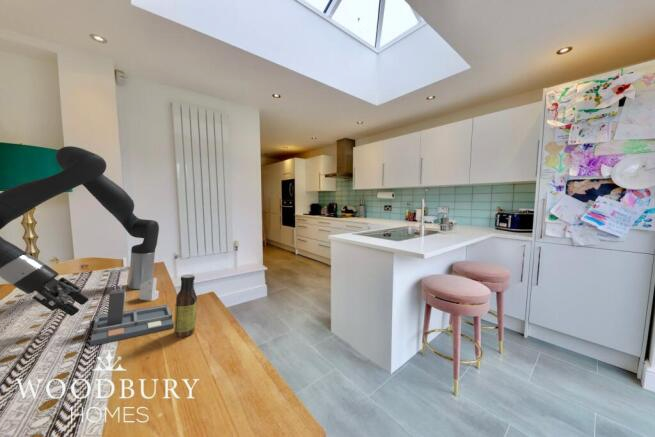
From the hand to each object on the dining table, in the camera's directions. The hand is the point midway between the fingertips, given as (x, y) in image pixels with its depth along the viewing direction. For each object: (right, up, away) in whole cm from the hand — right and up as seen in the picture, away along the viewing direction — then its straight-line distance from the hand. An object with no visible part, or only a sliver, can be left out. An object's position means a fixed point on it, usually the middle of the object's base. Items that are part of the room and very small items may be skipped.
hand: (81, 307), depth 73 cm
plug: (+6, -7, +5) cm, 11 cm away
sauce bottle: (+29, -11, +7) cm, 31 cm away
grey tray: (+10, -9, +8) cm, 16 cm away
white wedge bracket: (-1, -8, +29) cm, 30 cm away
